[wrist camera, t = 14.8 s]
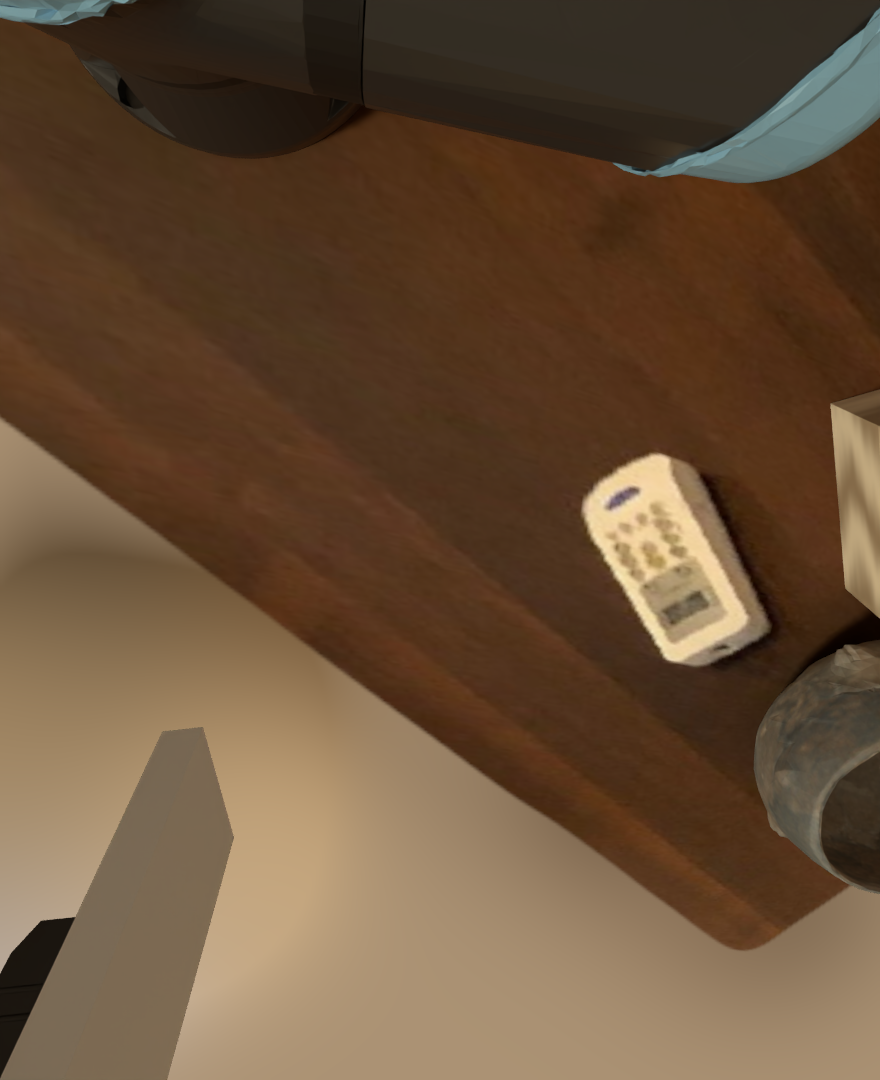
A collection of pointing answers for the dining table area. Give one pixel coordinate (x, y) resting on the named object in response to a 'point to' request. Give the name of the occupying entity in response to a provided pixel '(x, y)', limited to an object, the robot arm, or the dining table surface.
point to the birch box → (859, 493)
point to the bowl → (827, 764)
